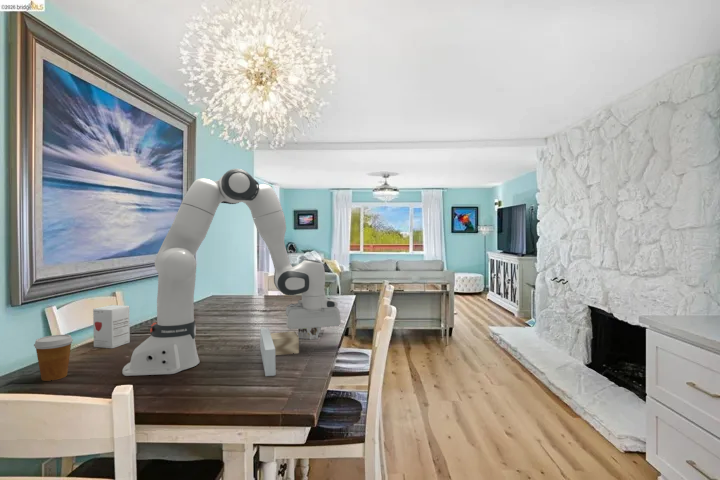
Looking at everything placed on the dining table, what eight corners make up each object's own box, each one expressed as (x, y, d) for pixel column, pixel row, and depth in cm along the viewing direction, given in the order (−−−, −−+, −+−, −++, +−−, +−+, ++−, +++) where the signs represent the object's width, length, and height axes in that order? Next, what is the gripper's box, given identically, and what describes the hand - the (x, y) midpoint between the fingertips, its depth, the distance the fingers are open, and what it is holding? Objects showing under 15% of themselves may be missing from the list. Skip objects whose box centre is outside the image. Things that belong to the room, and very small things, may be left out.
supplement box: (92, 347, 157) (91, 308, 156) (112, 341, 165) (111, 304, 165) (112, 348, 154) (111, 309, 154) (130, 342, 163) (130, 305, 163)
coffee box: (312, 339, 166) (312, 299, 166) (297, 338, 167) (297, 299, 167) (319, 333, 175) (318, 296, 175) (304, 333, 176) (304, 296, 176)
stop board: (265, 376, 123) (265, 350, 123) (260, 349, 152) (260, 328, 152) (275, 375, 124) (275, 349, 124) (268, 348, 153) (268, 327, 153)
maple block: (270, 356, 144) (270, 339, 144) (268, 349, 153) (268, 333, 153) (298, 353, 147) (298, 337, 147) (295, 347, 156) (295, 331, 156)
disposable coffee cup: (28, 384, 118) (27, 343, 118) (43, 373, 127) (42, 335, 127) (66, 381, 120) (65, 340, 120) (78, 370, 130) (77, 333, 129)
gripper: (286, 305, 147) (287, 343, 147) (341, 302, 153) (341, 339, 153) (284, 302, 153) (285, 339, 153) (337, 299, 159) (337, 335, 159)
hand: (313, 339), depth 153 cm, fingers closed
